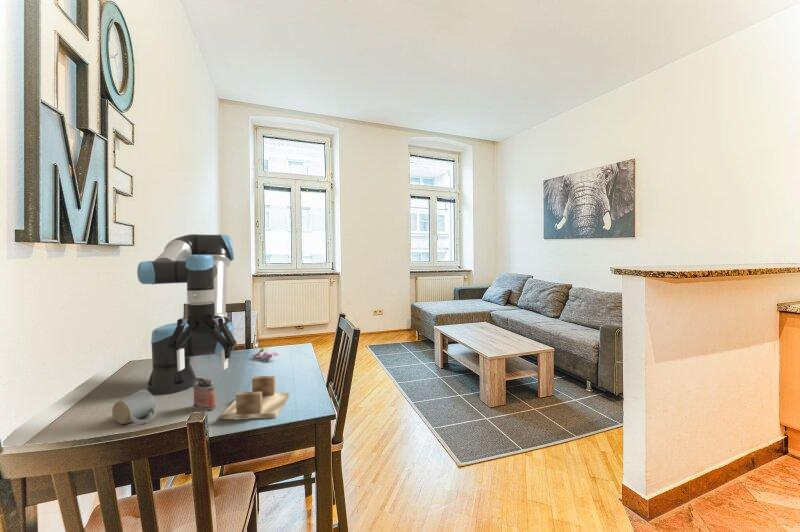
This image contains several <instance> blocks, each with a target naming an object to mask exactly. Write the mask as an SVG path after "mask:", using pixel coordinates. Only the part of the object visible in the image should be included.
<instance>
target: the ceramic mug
mask: <svg viewBox="0 0 800 532" xmlns="http://www.w3.org/2000/svg"><path fill="white" fill-rule="evenodd" d="M155 408H156V400H155V397H154V395H153V394H151V393H150V392H149V391H148V390H147V389H141V390H138V391H136V392H134V393H132V394H130V395H128V396H126V397H123V398H121V399H119V400H118V401H116V402H114V404H113V407H112V408H111V409H112V411H111V413H112V417H113V418H114V420H115V421H116V422H117V423H118V424H121V425H127V424H129V423H133V424H137V425H144V424H143V423H146V424H148V423H147V422H149V423H150V421H151V422H152V421H153V420H154V419H155V416H156V410H155ZM151 414H152V416H151V417H150V418H146V419H141V418H143V417H146V416H148V415H151Z"/></svg>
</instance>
